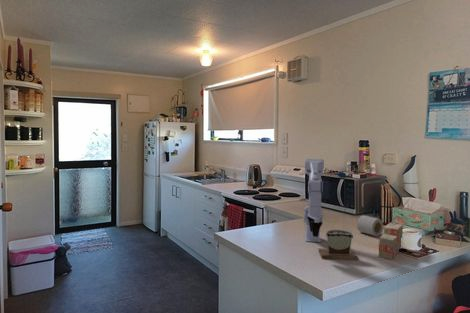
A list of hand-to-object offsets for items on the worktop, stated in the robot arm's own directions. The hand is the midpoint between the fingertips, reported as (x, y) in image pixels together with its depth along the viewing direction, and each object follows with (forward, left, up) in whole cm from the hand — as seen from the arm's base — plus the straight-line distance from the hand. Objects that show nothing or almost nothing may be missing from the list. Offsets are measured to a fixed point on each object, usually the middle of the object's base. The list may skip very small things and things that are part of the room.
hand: (314, 233), depth 159 cm
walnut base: (0, +11, -10) cm, 15 cm away
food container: (0, +11, -9) cm, 14 cm away
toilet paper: (-38, +38, -10) cm, 55 cm away
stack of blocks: (-7, +38, -10) cm, 40 cm away
